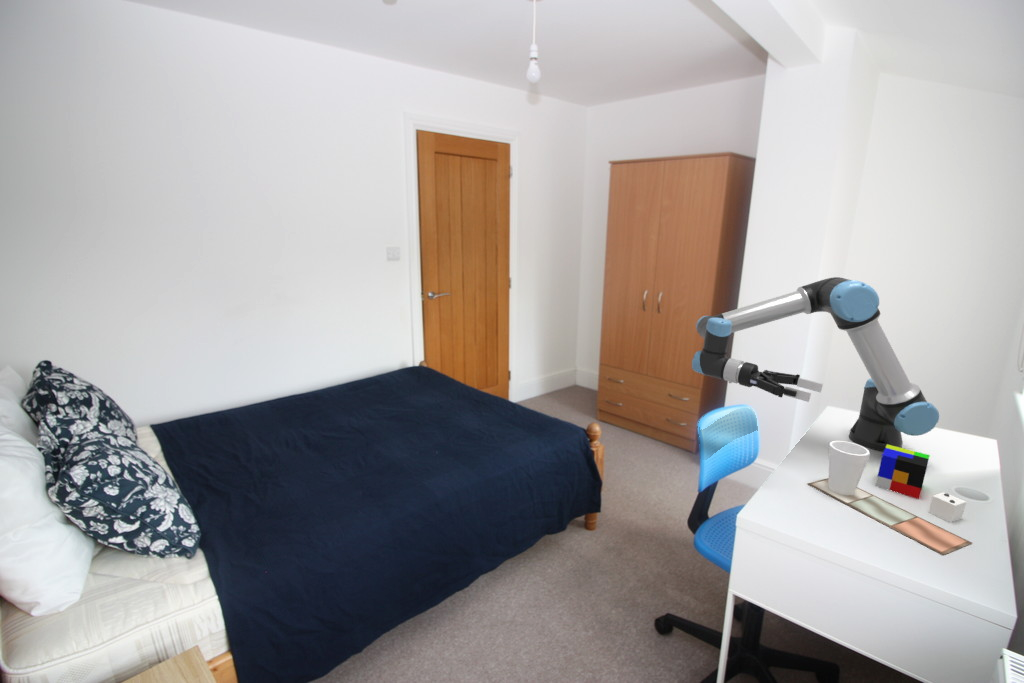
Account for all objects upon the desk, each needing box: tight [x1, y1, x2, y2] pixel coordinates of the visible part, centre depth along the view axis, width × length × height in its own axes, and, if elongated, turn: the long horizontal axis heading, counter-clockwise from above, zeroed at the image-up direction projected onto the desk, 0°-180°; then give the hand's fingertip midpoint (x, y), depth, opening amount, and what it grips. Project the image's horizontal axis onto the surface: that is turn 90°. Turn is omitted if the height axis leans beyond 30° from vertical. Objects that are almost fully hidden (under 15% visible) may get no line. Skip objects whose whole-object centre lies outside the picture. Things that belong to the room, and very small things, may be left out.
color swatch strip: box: [807, 477, 973, 556], centre depth 131 cm, size 12×34×1 cm, turn 23°
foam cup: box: [827, 440, 871, 496], centre depth 139 cm, size 10×9×13 cm
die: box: [928, 492, 967, 523], centre depth 129 cm, size 5×5×6 cm
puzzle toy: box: [875, 444, 930, 500], centre depth 143 cm, size 10×10×10 cm
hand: (816, 392), depth 144 cm, fingers open, 13 cm apart
